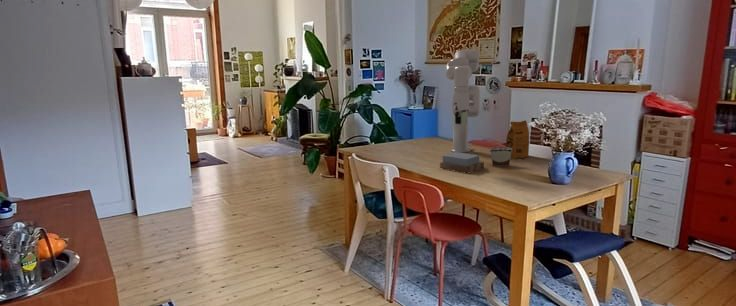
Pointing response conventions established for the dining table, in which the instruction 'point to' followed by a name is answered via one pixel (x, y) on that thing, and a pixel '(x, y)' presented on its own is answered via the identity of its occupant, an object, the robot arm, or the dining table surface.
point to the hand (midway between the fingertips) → (461, 122)
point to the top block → (461, 159)
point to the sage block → (463, 118)
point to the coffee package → (518, 139)
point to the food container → (501, 156)
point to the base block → (462, 167)
